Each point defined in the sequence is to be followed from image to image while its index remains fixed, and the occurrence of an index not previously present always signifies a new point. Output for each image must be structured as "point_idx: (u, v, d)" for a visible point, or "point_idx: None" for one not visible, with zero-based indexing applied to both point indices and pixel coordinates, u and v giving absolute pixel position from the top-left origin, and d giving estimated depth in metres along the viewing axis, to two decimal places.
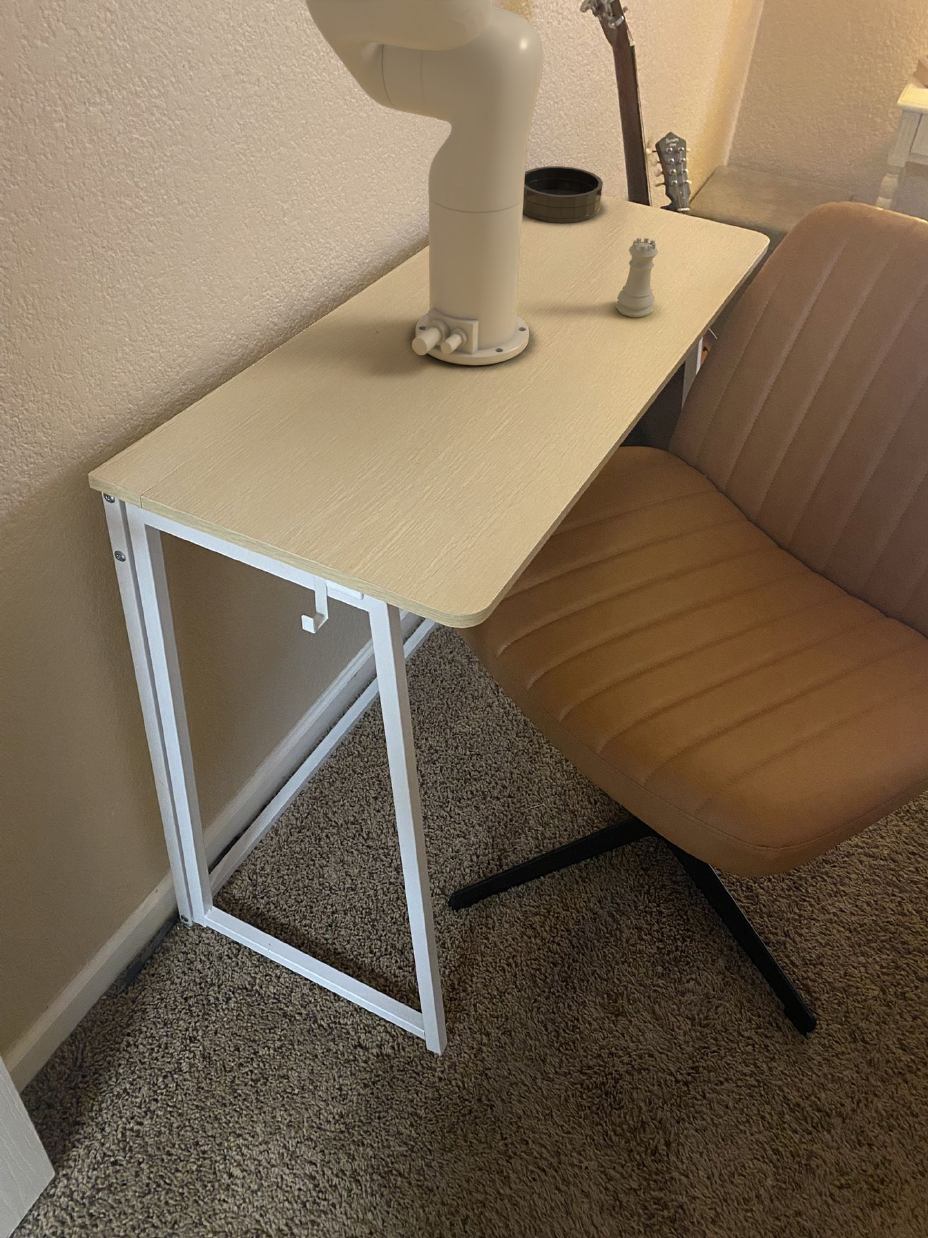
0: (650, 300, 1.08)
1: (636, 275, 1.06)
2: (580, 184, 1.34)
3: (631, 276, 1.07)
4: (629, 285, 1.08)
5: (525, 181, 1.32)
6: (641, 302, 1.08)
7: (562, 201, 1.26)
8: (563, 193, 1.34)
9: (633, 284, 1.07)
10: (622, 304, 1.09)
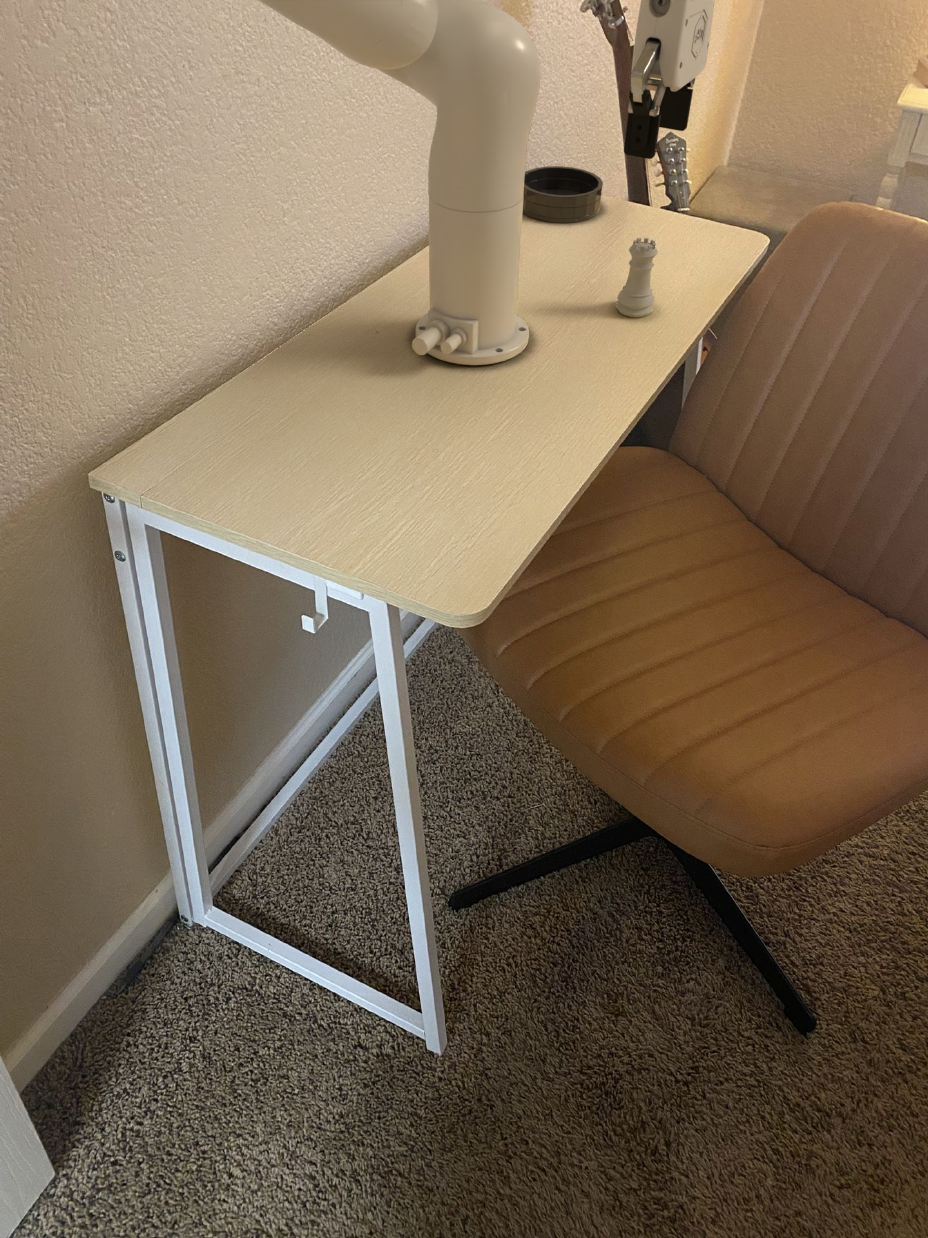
0: (650, 300, 1.08)
1: (636, 275, 1.06)
2: (580, 184, 1.34)
3: (631, 276, 1.07)
4: (629, 285, 1.08)
5: (525, 181, 1.32)
6: (641, 302, 1.08)
7: (562, 201, 1.26)
8: (563, 193, 1.34)
9: (633, 284, 1.07)
10: (622, 304, 1.09)
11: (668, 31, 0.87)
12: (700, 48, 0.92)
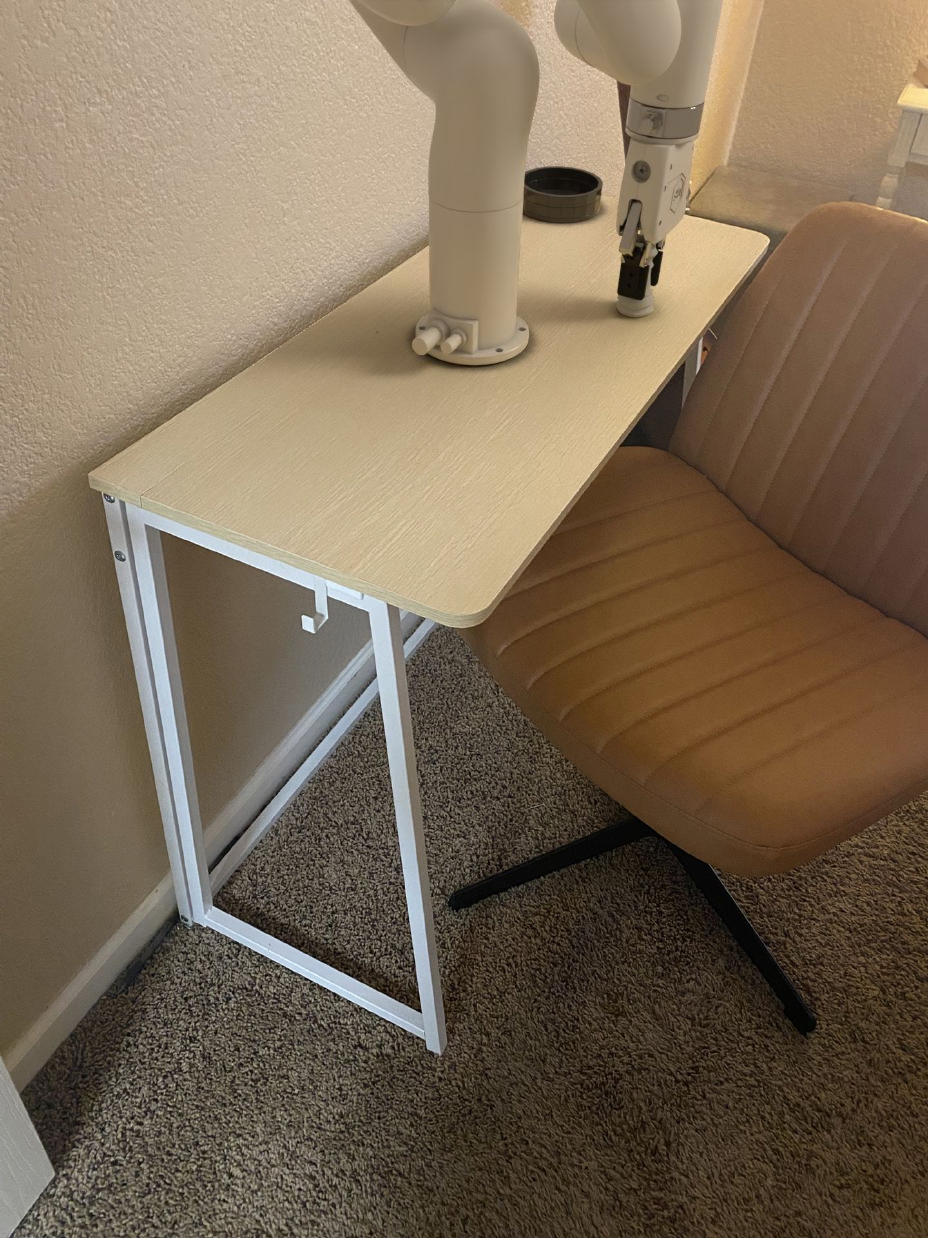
0: (650, 300, 1.08)
1: None
2: (580, 184, 1.34)
3: None
4: None
5: (525, 181, 1.32)
6: (641, 302, 1.08)
7: (562, 201, 1.26)
8: (563, 193, 1.34)
9: None
10: (622, 304, 1.09)
11: (648, 195, 0.96)
12: (679, 203, 1.01)
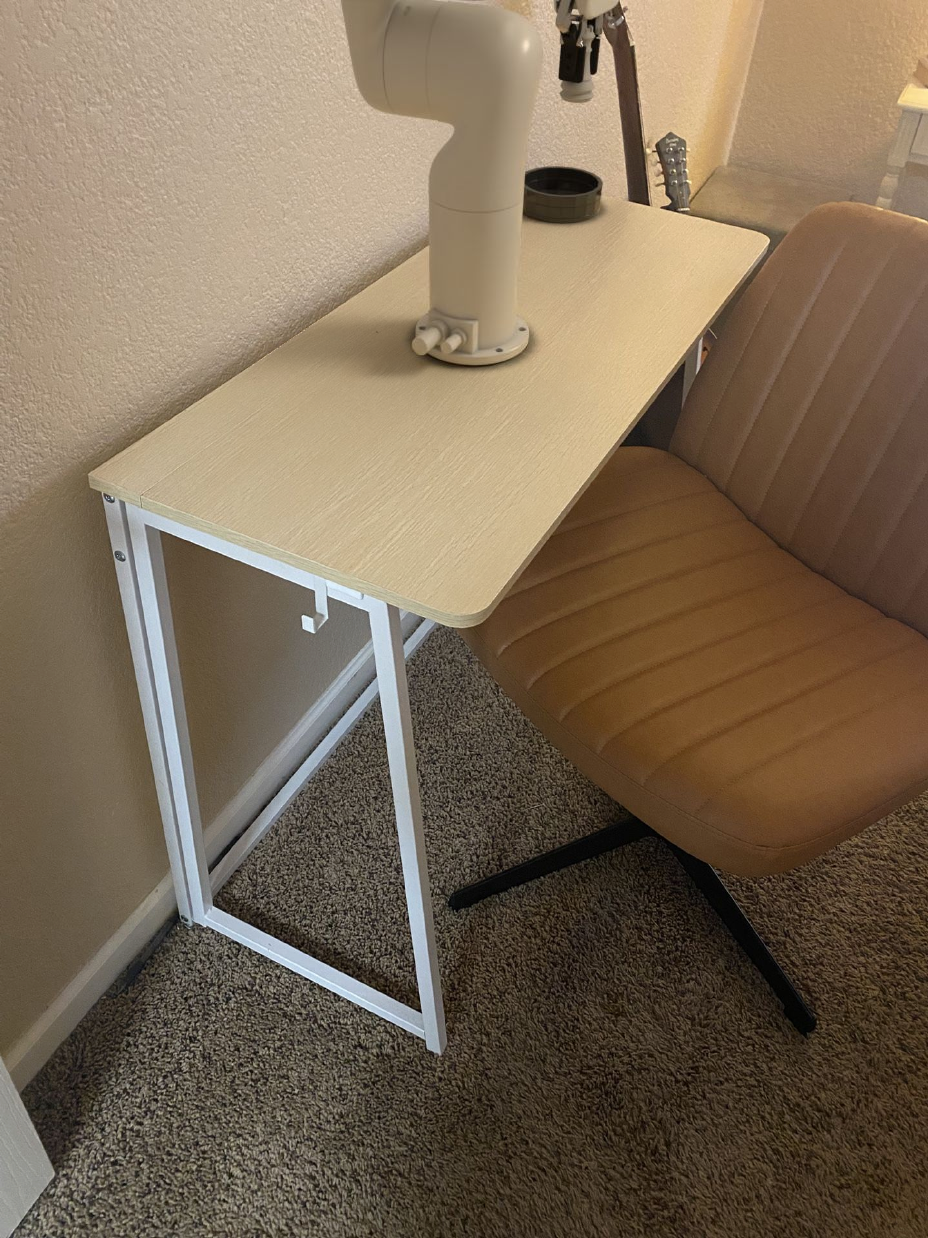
0: (590, 85, 1.18)
1: None
2: (580, 184, 1.34)
3: None
4: None
5: (525, 181, 1.32)
6: (581, 86, 1.17)
7: (562, 201, 1.26)
8: (563, 193, 1.34)
9: None
10: (564, 90, 1.19)
11: None
12: None
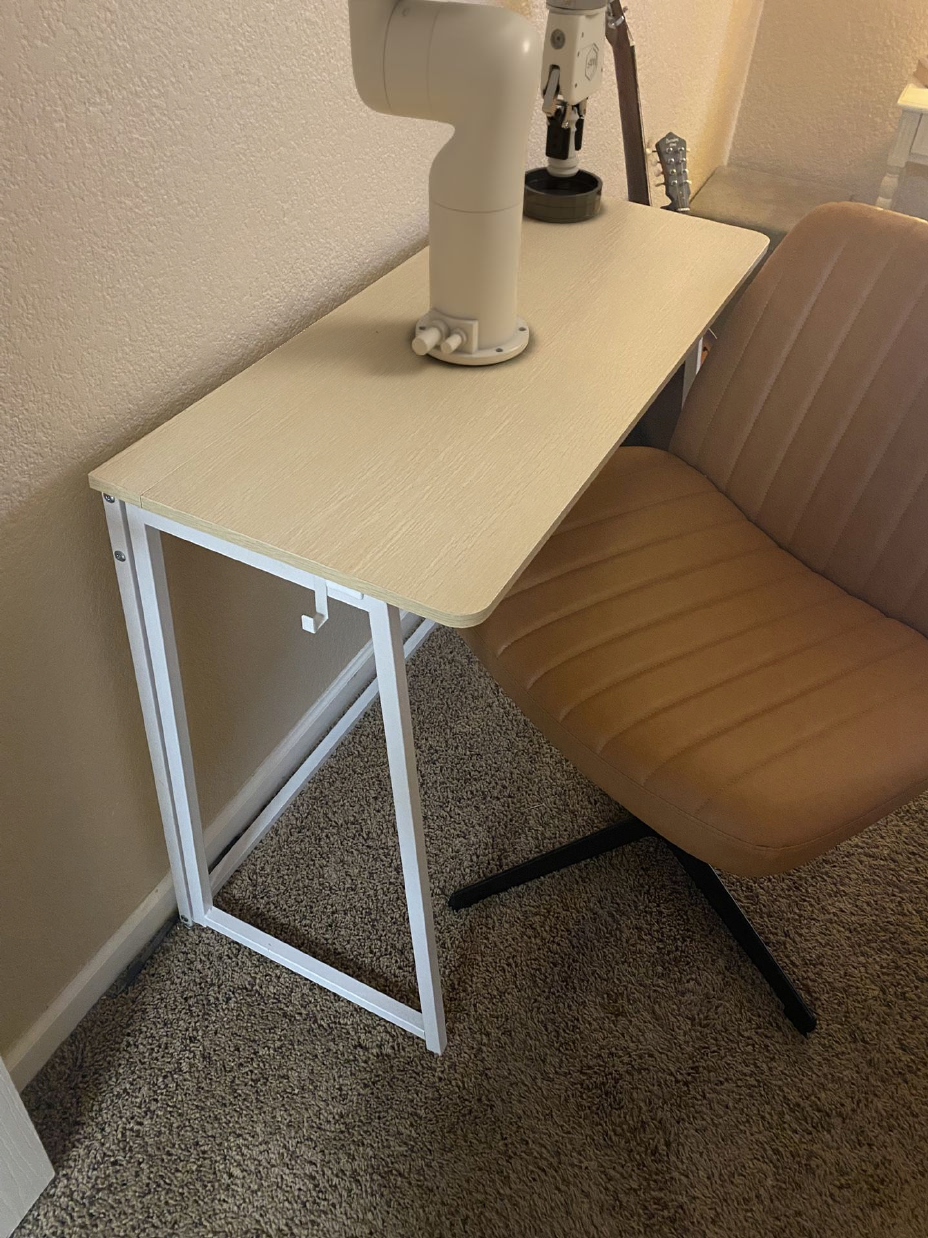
0: (574, 161, 1.27)
1: None
2: (580, 184, 1.34)
3: None
4: None
5: (525, 181, 1.32)
6: (567, 162, 1.27)
7: (562, 201, 1.26)
8: (563, 193, 1.34)
9: None
10: (551, 165, 1.28)
11: (565, 60, 1.15)
12: (593, 72, 1.20)
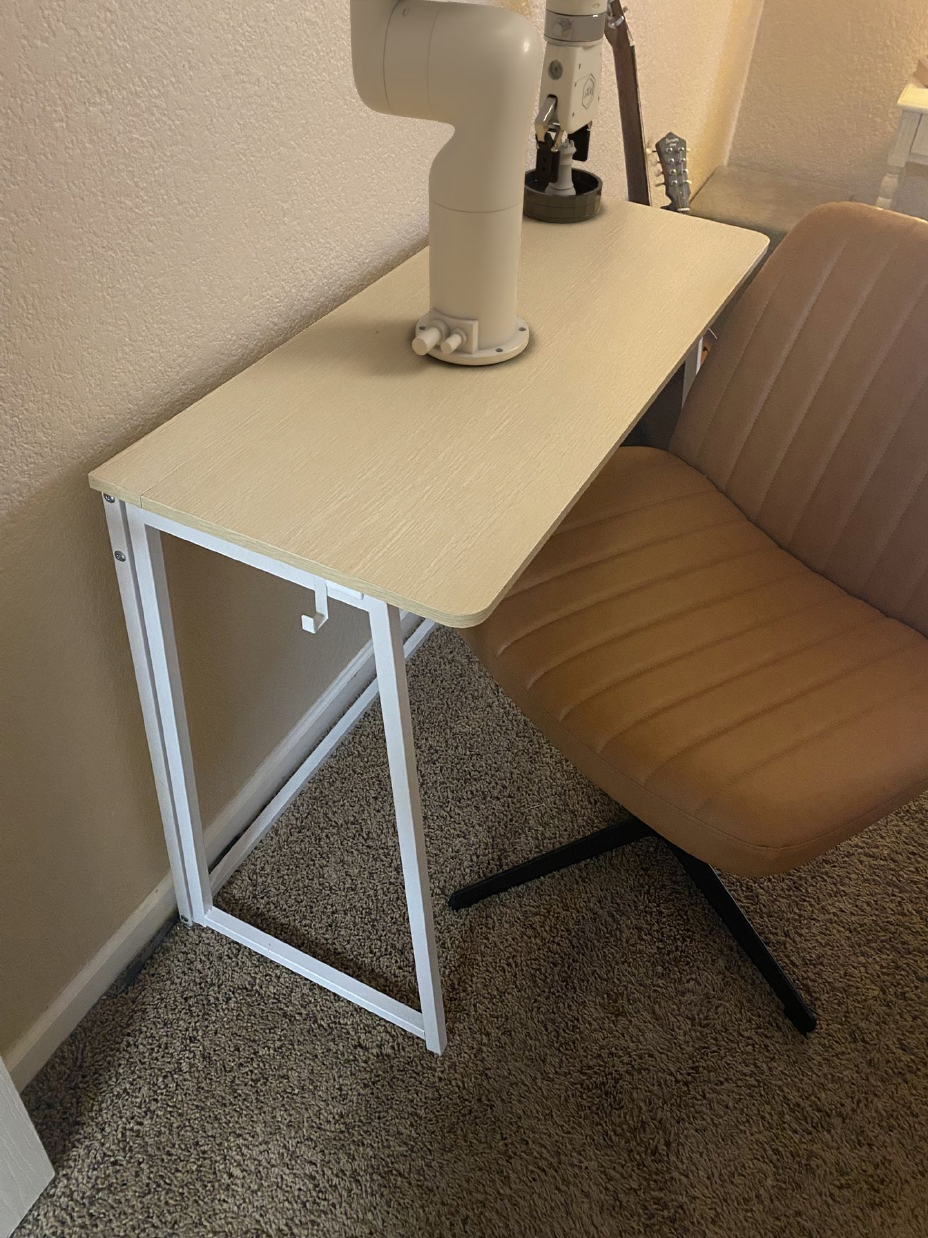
0: (571, 192, 1.30)
1: (559, 170, 1.28)
2: (580, 184, 1.34)
3: None
4: None
5: (525, 181, 1.32)
6: (563, 193, 1.29)
7: (562, 201, 1.26)
8: None
9: None
10: None
11: (562, 90, 1.18)
12: (590, 101, 1.23)
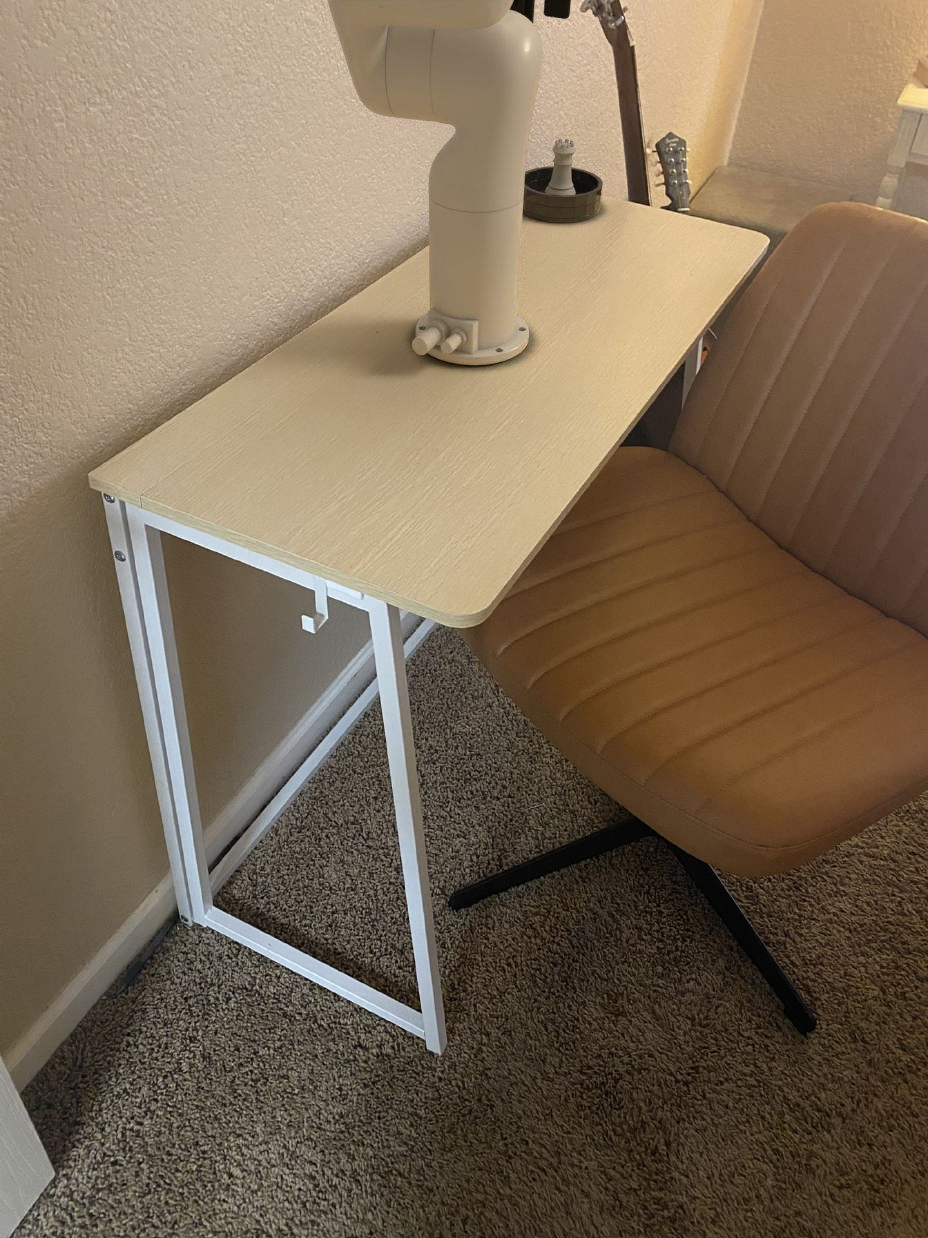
0: (571, 192, 1.30)
1: (559, 170, 1.28)
2: (580, 184, 1.34)
3: (555, 171, 1.29)
4: (553, 179, 1.29)
5: (525, 181, 1.32)
6: (563, 193, 1.29)
7: (562, 201, 1.26)
8: None
9: (556, 178, 1.29)
10: None
11: None
12: None
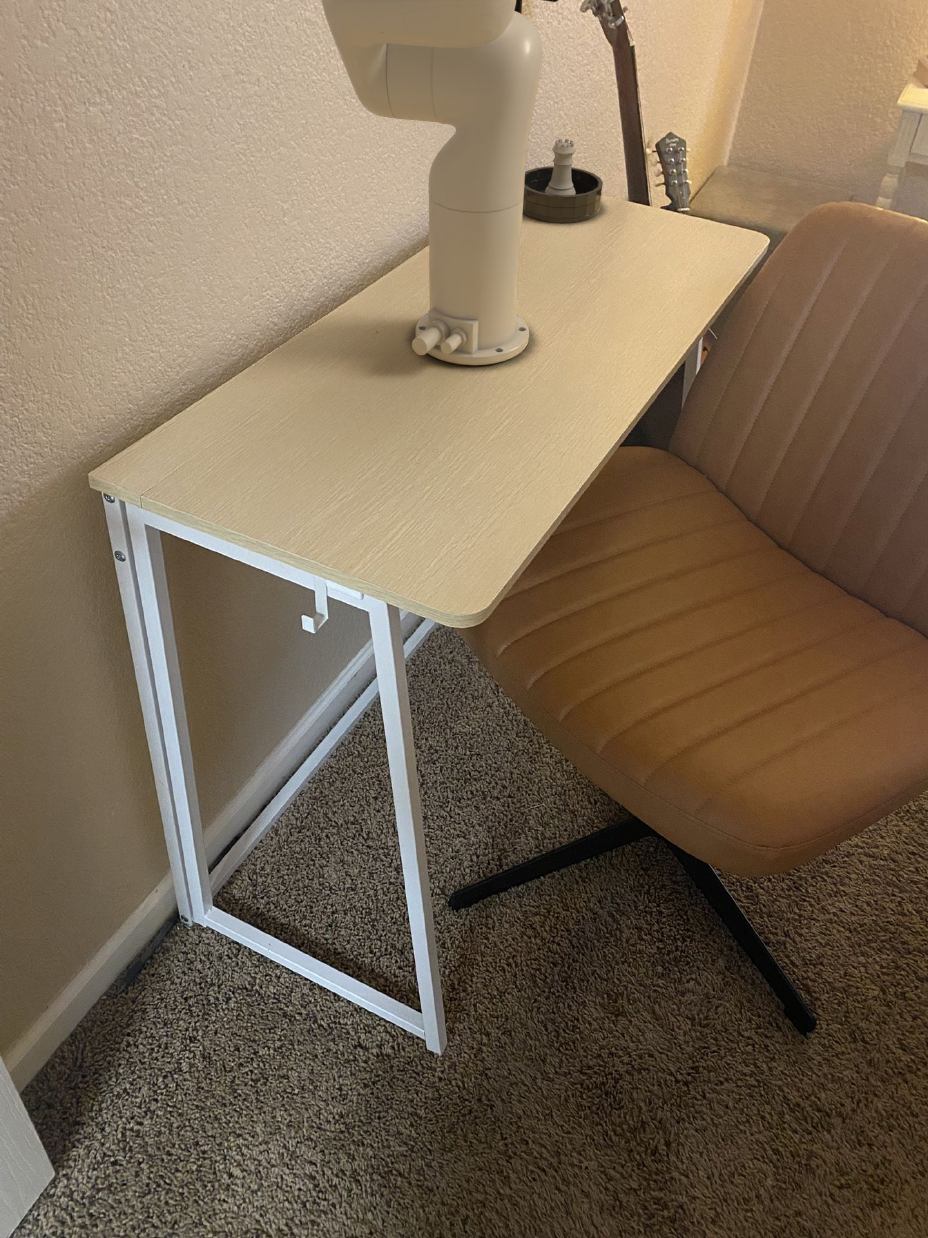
0: (571, 192, 1.30)
1: (559, 170, 1.28)
2: (580, 184, 1.34)
3: (555, 171, 1.29)
4: (553, 179, 1.29)
5: (525, 181, 1.32)
6: (563, 193, 1.29)
7: (562, 201, 1.26)
8: None
9: (556, 178, 1.29)
10: None
11: None
12: None
